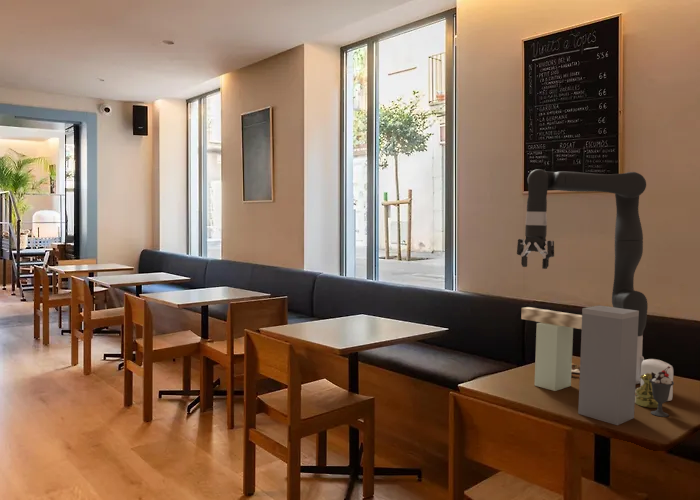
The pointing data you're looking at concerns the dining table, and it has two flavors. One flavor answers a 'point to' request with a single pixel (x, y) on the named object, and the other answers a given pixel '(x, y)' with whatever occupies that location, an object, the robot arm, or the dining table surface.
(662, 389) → the sundae
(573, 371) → the sushi roll
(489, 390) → the dining table surface
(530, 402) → the dining table surface
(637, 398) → the gold buddha statue
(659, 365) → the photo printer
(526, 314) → the ash bar
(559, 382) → the sage green pillar
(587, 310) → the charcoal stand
